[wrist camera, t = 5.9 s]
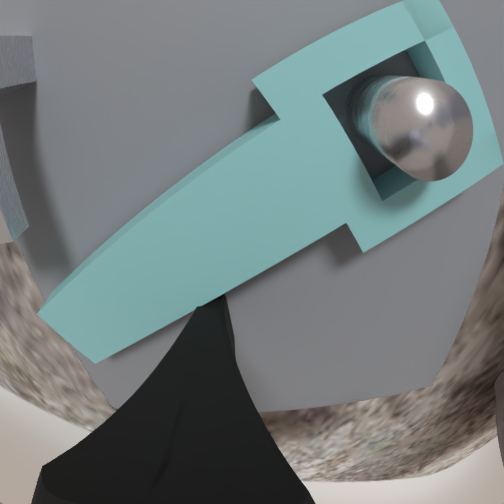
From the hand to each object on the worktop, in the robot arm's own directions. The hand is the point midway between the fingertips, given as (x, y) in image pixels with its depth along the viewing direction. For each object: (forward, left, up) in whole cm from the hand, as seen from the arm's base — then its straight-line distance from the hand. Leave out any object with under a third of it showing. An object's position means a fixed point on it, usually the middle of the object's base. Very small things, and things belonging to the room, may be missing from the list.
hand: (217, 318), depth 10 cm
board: (-1, -3, -2) cm, 4 cm away
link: (-1, -3, 0) cm, 3 cm away
